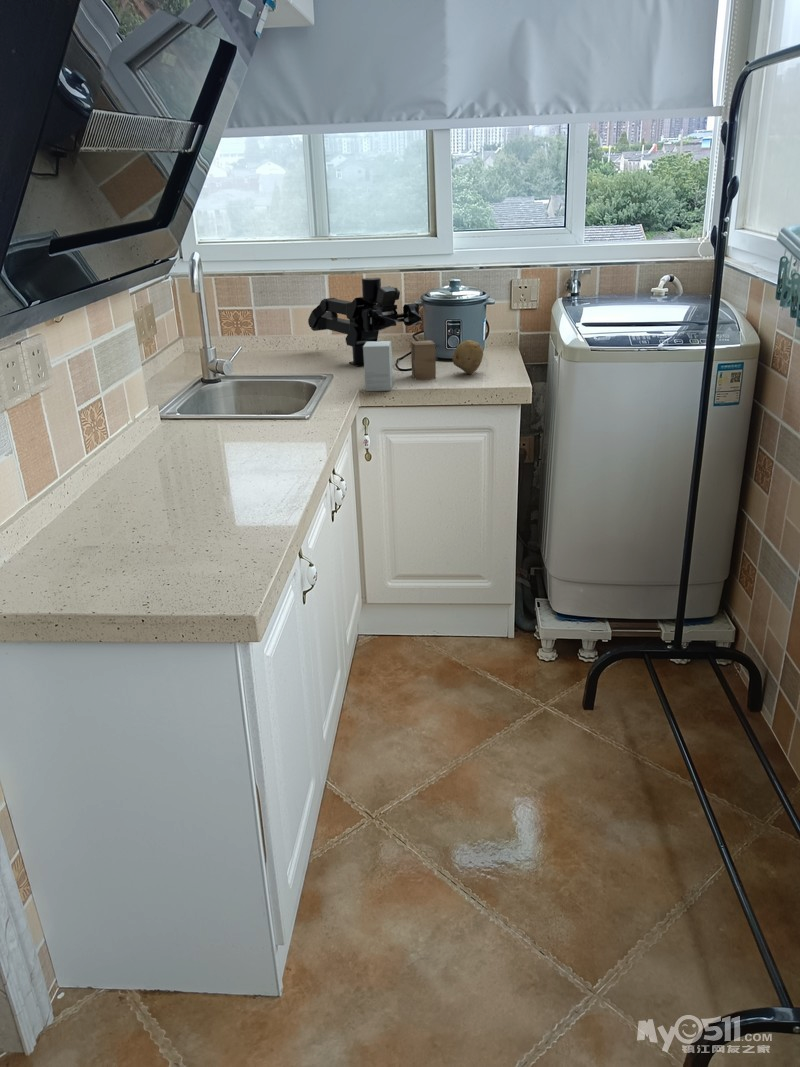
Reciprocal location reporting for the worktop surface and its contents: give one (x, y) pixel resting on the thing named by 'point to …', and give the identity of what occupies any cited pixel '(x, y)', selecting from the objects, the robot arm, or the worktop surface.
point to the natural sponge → (468, 356)
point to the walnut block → (423, 359)
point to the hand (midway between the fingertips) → (408, 320)
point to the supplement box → (378, 365)
